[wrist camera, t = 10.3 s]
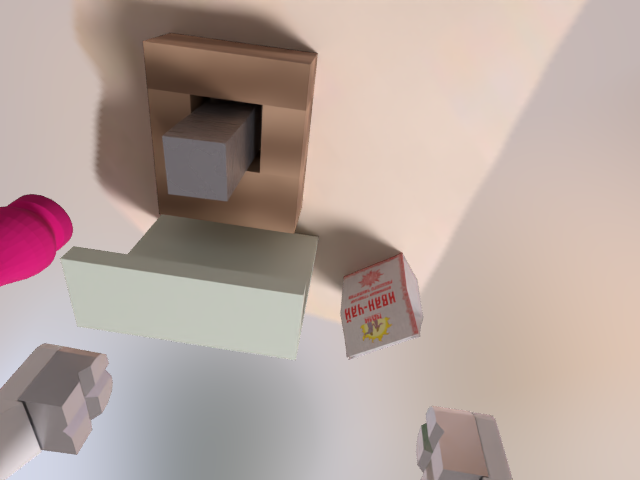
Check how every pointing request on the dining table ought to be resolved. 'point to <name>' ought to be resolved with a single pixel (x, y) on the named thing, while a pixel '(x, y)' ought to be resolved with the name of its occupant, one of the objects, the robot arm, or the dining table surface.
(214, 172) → the peg
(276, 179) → the socket
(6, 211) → the pepper mill
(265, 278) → the pale green stepped block
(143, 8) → the dining table surface
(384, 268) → the tea bag
